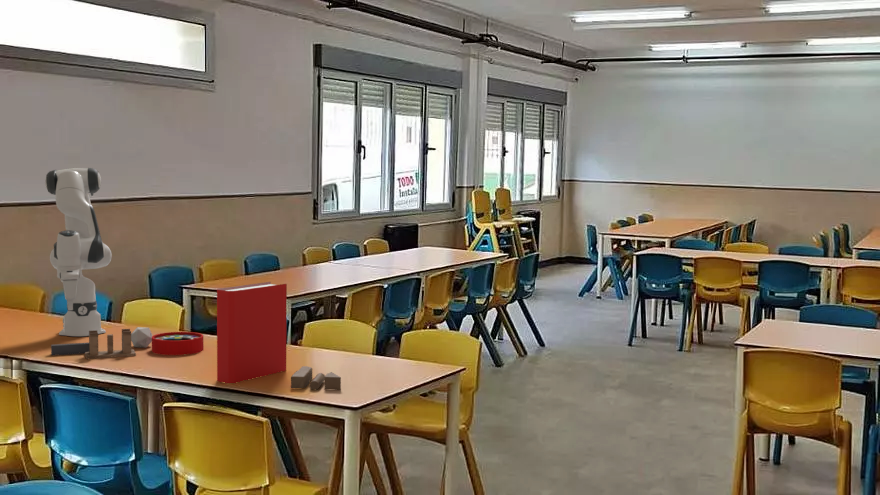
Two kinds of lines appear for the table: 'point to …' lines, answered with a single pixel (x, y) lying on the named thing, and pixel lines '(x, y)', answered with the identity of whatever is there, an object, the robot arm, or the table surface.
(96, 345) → the stand
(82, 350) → the frame bar
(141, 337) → the die
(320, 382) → the wooden block set
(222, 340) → the book
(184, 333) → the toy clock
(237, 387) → the table surface
